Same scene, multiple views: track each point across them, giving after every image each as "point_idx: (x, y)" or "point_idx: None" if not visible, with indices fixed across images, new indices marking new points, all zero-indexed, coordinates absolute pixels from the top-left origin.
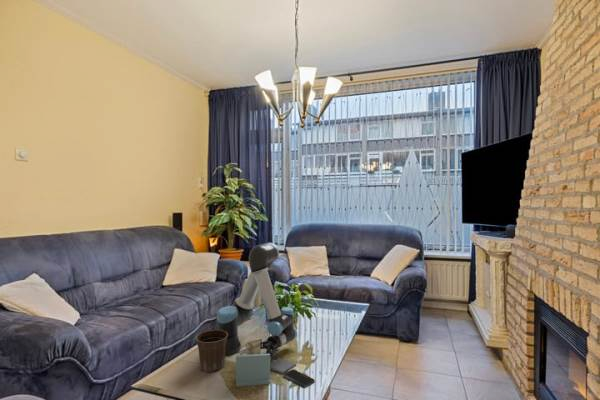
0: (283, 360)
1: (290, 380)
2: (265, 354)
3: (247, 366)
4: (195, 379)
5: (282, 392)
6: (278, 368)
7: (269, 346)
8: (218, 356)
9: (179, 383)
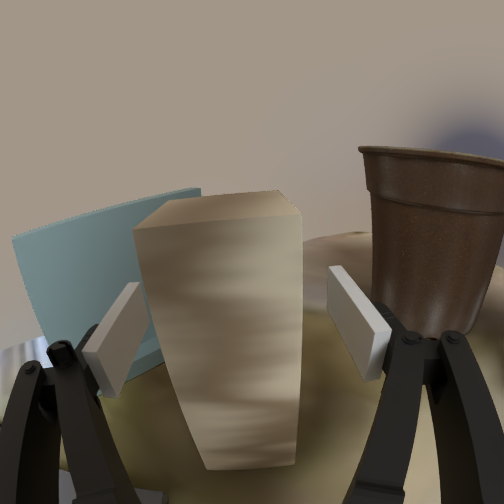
0: None
1: None
2: (38, 229)
3: None
4: (353, 266)
5: (14, 352)
6: None
7: (90, 493)
8: (374, 241)
9: (356, 248)
